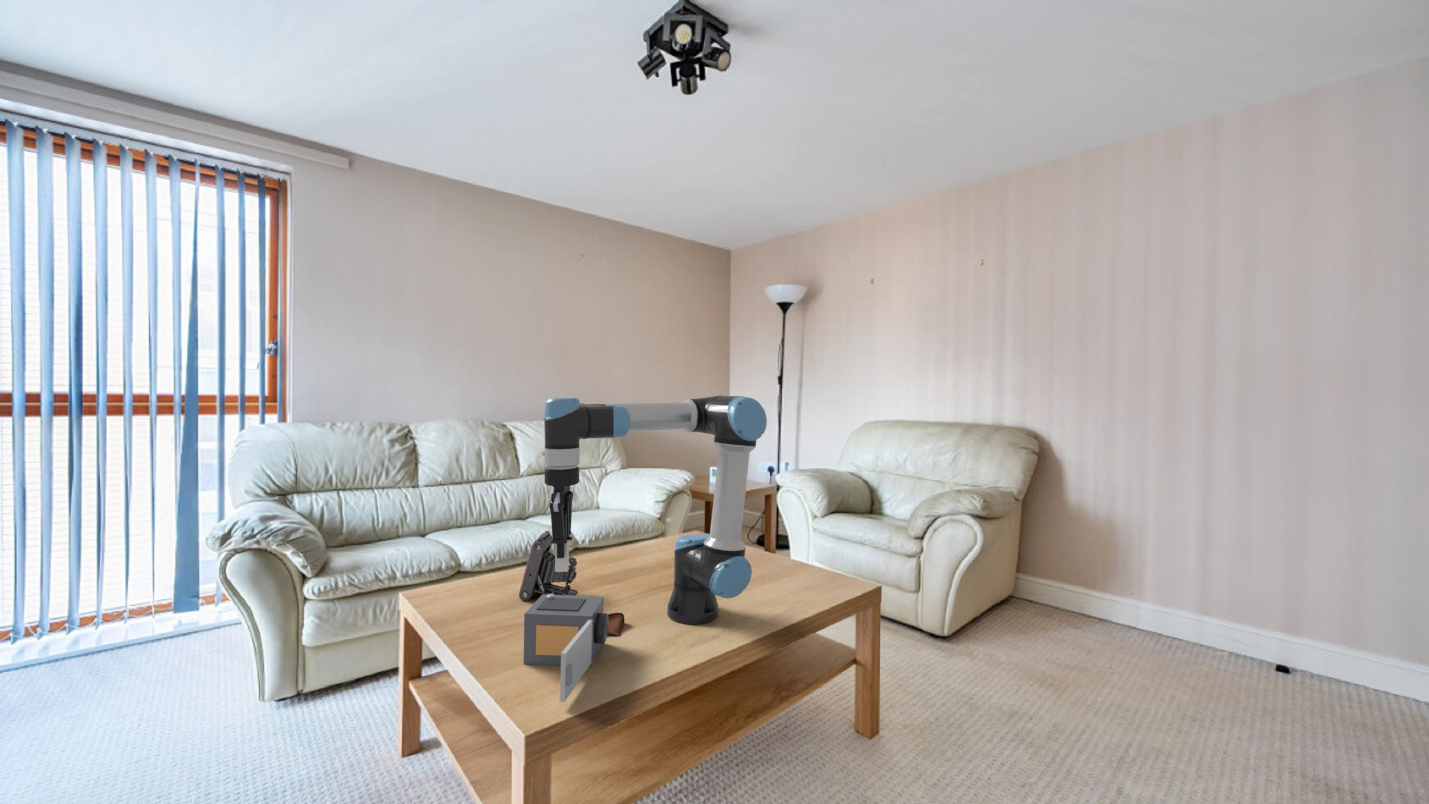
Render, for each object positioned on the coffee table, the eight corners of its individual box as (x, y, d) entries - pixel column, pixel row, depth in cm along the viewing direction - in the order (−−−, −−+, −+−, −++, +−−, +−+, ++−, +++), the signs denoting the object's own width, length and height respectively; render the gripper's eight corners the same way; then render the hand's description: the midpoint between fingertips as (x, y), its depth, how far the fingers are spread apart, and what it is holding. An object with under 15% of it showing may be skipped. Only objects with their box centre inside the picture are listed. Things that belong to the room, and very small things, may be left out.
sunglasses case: (553, 637, 139) (556, 610, 142) (557, 640, 145) (560, 614, 148) (622, 636, 141) (623, 609, 144) (623, 639, 147) (625, 613, 150)
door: (588, 660, 125) (588, 618, 125) (595, 661, 125) (596, 619, 125) (559, 701, 108) (560, 653, 108) (568, 702, 108) (569, 653, 108)
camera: (566, 614, 162) (584, 551, 162) (513, 598, 162) (532, 536, 162) (576, 600, 173) (593, 542, 173) (527, 585, 173) (544, 527, 173)
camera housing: (610, 642, 137) (611, 593, 137) (598, 667, 125) (599, 613, 125) (541, 640, 138) (542, 591, 137) (523, 664, 125) (524, 610, 125)
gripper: (552, 462, 125) (552, 561, 126) (536, 471, 112) (537, 581, 113) (584, 462, 125) (584, 560, 126) (572, 471, 112) (572, 581, 113)
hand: (561, 570), depth 119 cm, fingers closed
